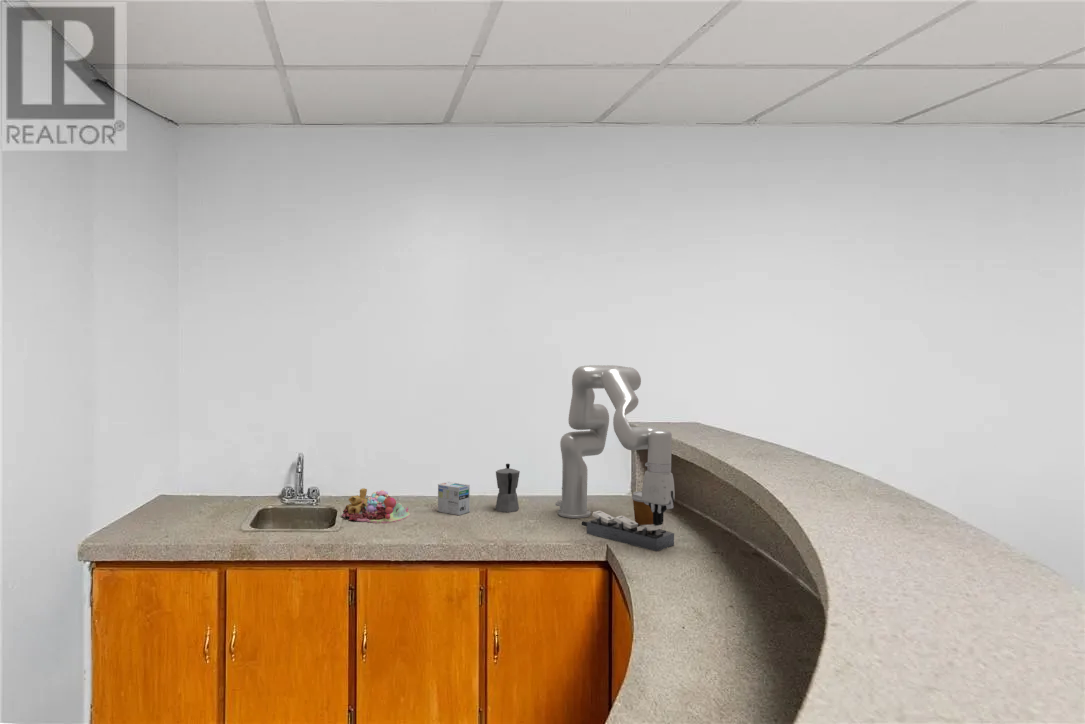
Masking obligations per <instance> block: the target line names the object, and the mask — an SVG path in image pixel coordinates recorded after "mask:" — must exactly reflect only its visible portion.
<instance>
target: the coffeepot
mask: <svg viewBox="0 0 1085 724" xmlns="http://www.w3.org/2000/svg"><path fill="white" fill-rule="evenodd" d="M510 466H511V464H510V463H506V464H505V468H502V469H497V470H496V471H495V477H496V483H497V484H496V485H497V489H498V494H497V499H496V502H495V503H496V504H495V509H494V510H496V511H497V512H500V513H515V512H517V511H519V509H520V506H519V500H518V493H517V488H518V486H519V485H518V484H519V477H520V473H521V472H520V470H517V469H515V468H510Z"/></svg>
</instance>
